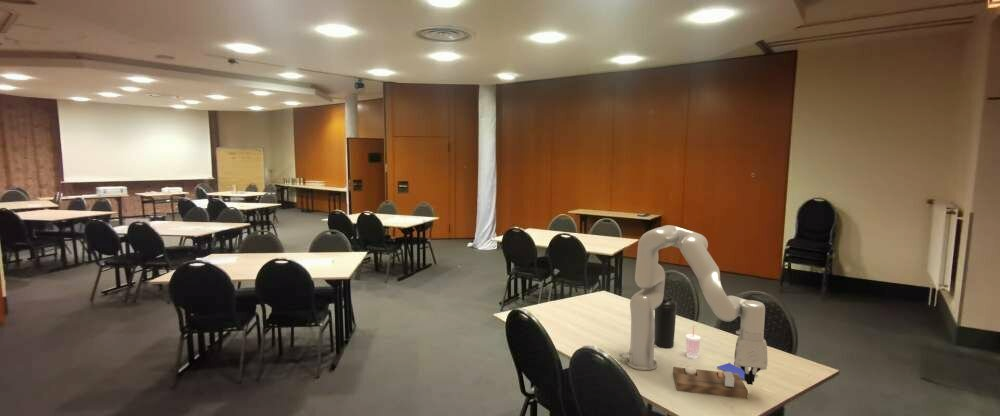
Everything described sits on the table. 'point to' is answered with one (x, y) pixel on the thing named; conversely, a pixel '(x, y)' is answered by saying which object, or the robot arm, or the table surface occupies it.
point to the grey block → (728, 379)
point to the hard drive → (733, 370)
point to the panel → (708, 383)
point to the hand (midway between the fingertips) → (749, 383)
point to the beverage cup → (692, 345)
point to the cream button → (690, 370)
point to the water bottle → (665, 323)
